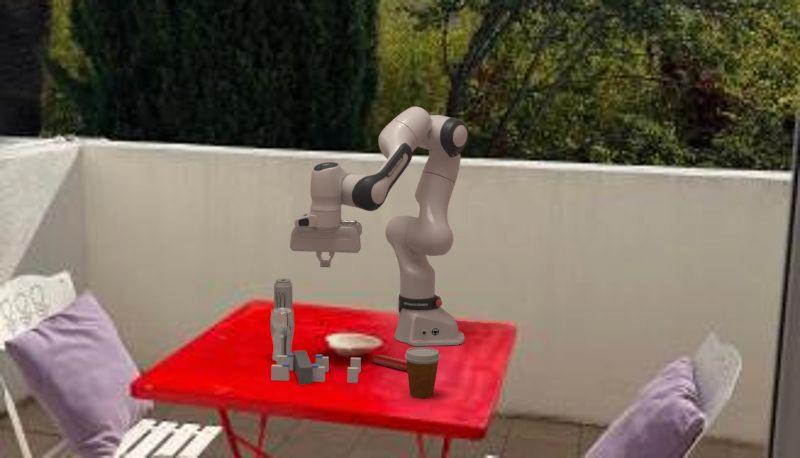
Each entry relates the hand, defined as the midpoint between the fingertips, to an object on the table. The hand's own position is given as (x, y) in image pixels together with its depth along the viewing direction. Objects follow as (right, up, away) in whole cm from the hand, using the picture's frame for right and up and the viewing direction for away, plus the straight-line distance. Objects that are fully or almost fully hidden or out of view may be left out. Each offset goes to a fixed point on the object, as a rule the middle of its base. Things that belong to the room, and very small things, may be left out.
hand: (325, 266), depth 294 cm
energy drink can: (-18, -21, +47) cm, 55 cm away
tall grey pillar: (-6, -31, -5) cm, 32 cm away
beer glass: (-13, -28, +9) cm, 32 cm away
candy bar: (+20, -30, +3) cm, 36 cm away
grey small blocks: (-2, -31, -6) cm, 31 cm away
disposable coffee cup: (+27, -34, -20) cm, 48 cm away
